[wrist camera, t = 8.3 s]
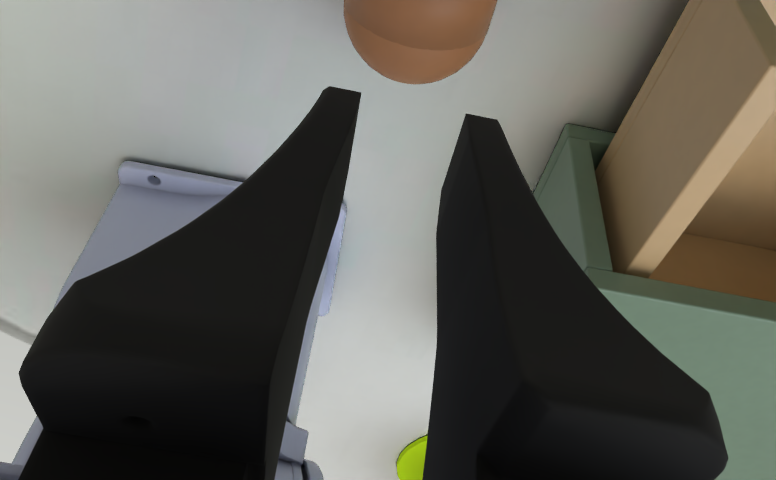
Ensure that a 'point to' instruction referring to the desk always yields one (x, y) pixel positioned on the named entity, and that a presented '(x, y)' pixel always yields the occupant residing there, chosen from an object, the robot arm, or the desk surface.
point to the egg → (417, 35)
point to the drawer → (700, 157)
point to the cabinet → (674, 311)
